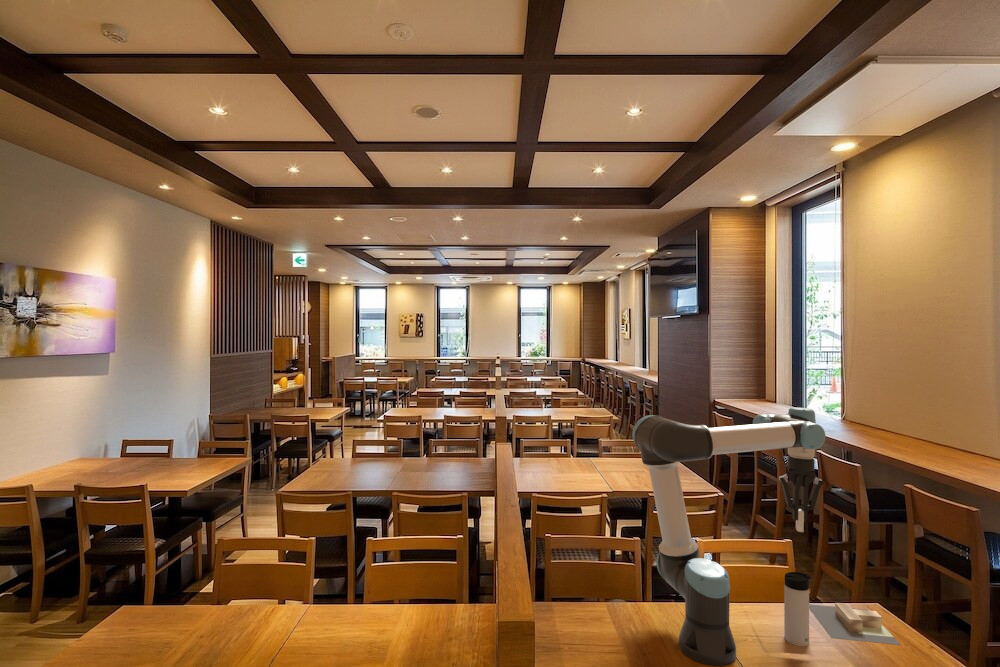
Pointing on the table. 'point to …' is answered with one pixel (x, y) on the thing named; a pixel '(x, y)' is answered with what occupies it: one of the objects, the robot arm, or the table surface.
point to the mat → (841, 632)
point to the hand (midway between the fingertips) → (799, 530)
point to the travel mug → (796, 608)
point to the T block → (857, 618)
